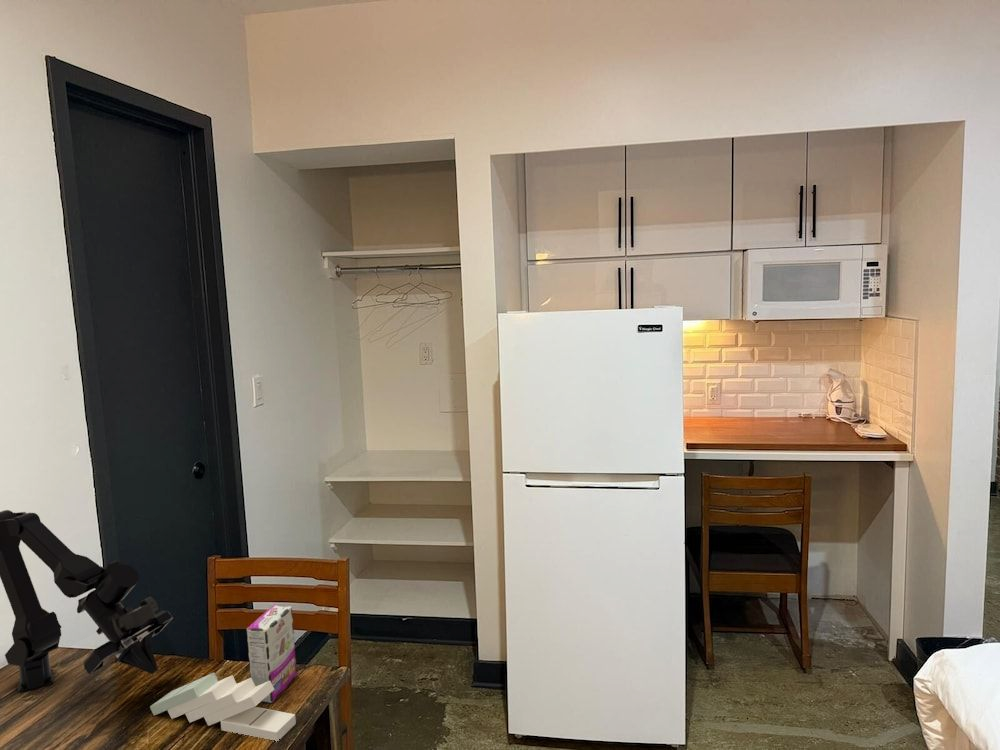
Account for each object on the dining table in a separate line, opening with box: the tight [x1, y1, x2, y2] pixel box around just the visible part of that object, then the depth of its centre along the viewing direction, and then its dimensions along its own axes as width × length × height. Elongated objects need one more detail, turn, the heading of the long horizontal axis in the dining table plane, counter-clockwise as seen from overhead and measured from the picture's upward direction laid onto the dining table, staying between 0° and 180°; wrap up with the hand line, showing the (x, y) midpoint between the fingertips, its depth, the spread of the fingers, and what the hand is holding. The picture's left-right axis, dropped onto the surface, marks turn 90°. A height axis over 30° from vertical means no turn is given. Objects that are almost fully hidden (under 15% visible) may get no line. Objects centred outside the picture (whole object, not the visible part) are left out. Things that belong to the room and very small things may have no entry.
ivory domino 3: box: [203, 681, 274, 727], centre depth 140 cm, size 2×6×13 cm
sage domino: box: [149, 672, 219, 716], centre depth 145 cm, size 2×6×13 cm
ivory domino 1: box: [167, 674, 238, 720], centre depth 143 cm, size 2×6×13 cm
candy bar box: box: [246, 604, 298, 704], centre depth 152 cm, size 11×5×16 cm, turn 168°
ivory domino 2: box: [185, 677, 256, 724], centre depth 142 cm, size 2×6×13 cm
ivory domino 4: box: [220, 706, 297, 743], centre depth 139 cm, size 2×6×13 cm
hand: (155, 672), depth 146 cm, fingers closed
